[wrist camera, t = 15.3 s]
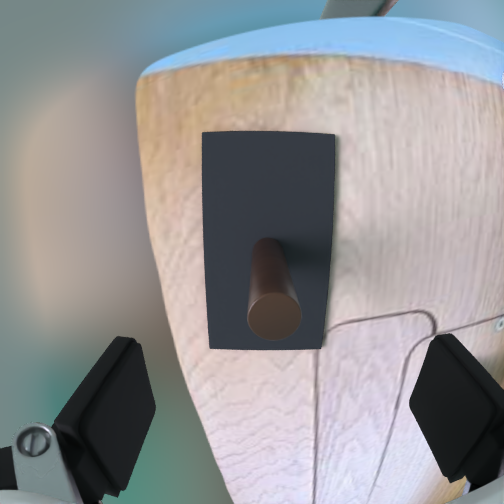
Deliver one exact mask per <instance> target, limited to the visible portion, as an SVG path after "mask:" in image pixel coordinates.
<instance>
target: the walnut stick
mask: <svg viewBox="0 0 504 504" xmlns="http://www.w3.org/2000/svg"><path fill="white" fill-rule="evenodd" d="M301 319H302V312H301V308H300V305H299V301H298V298H297V295H296V291H295V288H294V285H293V281H292V278H291V275H290V271H289V268H288V265H287V261H286V258H285V255H284V252H283V249H282V246H281V244H280V243H279V242H278V241H277V240H275V239H273V238H263V239H260V240H259V241H257V242H256V243H255V245H254V247H253V250H252V262H251V275H250V288H249V300H248V313H247V320H248V324H249V327H250V328H251V330H252V331H253V332H254V333H255V334H256V335H257V336H259V337H261V338H263V339H266V340H272V341H275V340H282V339H285V338H287V337H289V336H290V335H292V334H293V333H294V332H295V331H296V330H297V329H298V327H299V325H300V323H301Z"/></svg>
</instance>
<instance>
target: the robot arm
mask: <svg viewBox="0 0 504 504" xmlns="http://www.w3.org/2000/svg"><path fill="white" fill-rule="evenodd" d="M409 406H410V409H411V411H412V413H413V415H414V417H415V419H416V421H417V423H418V425H419V427H420V429H421V431H422V433H423V435H424V437H425V439H426V441H427V443H428V445H429V447H430V449H431V451H432V453H433V455H434V457H435V459H436V461H437V464H438V466H439V468H440V470H441V472H442V474H443V476H445V477H447V478H448V480H449V482H450V483H452V482H455V481H457V480H459V479H462V478H463V477H464V476H466V478H467V481H466V484H465V488H464V491H463V494H462V496H461V497H459V498H457V499H454V500H452V501H450V502H447V503H445V504H504V390H503V389H502V388H501V387H500V385H499V384H498V383H497V382H496V381H495V380H494V378H493V377H492V376H491V375H490V374H489V373H488V372H487V371H486V369H485V368H484V367H483V366H482V365H481V364H480V363H479V362H478V361H477V359H476V358H475V357H474V356H473V355H472V354H471V353H470V352H469V351H468V350H467V349H466V348H465V347H464V346H463V344H462V343H461V342H460V341H459V340H458V339H457V338H456V337H455V336H454V335H453V334H450V333H449V334H442V335H437V336H435V338H434V339H433V340H432V341H431V342H430V344H429V347H428V350H427V354H426V357H425V360H424V362H423V365H422V368H421V371H420V374H419V377H418V379H417V382H416V384H415V387H414V390H413V392H412V395H411V397H410V400H409ZM155 410H156V405H155V400H154V397H153V393H152V389H151V385H150V381H149V377H148V373H147V369H146V365H145V360H144V356H143V351H142V347H141V344H139V343H137V342H136V340H135V339H134V338H129V337H120V336H117V337H116V338H115V339H114V340H113V341H112V343H111V344H110V345H109V346H108V348H107V349H106V350H105V352H104V353H103V354H102V356H101V357H100V358H99V360H98V361H97V363H96V364H95V365H94V366H93V368H92V369H91V370H90V372H89V373H88V375H87V376H86V377H85V378H84V380H83V381H82V382H81V384H80V385H79V387H78V388H77V389H76V391H75V392H74V394H73V395H72V396H71V398H70V399H69V401H68V402H67V403H66V405H65V406H64V408H63V409H62V410H61V412H60V413H59V415H58V416H57V418H56V419H55V420H54V424H53V425H52V427H50V426H48V425H46V424H44V423H38V422H34V423H29V424H26V425H23V426H22V427H20V428H19V429H18V430H17V431H16V432H15V434H14V436H13V438H12V446H9V447H5V448H1V449H0V504H103V503H102V501H101V500H102V498H103V496H104V494H108V495H111V496H115V497H118V496H119V493H120V491H121V490H122V491H124V490H125V489H126V487H127V485H128V483H129V480H130V477H131V474H132V472H133V469H134V466H135V463H136V461H137V458H138V456H139V453H140V450H141V448H142V445H143V443H144V440H145V437H146V435H147V432H148V430H149V427H150V425H151V422H152V419H153V417H154V414H155Z"/></svg>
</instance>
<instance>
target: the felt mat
mask: <svg viewBox="0 0 504 504" xmlns="http://www.w3.org/2000/svg"><path fill="white" fill-rule="evenodd" d="M334 181H335V135H334V134H323V133H306V132H280V131H225V132H202V206H203V241H204V266H205V286H206V303H207V319H208V334H209V347H210V349H232V350H305V349H321V347H322V339H323V332H324V323H325V314H326V305H327V295H328V285H329V273H330V261H331V247H332V231H333V211H334ZM263 238H273V239H275V240H277V241H278V242H279V243H280V244H281V246H282V249H283V252H284V255H285V258H286V261H287V265H288V268H289V271H290V275H291V278H292V281H293V285H294V288H295V291H296V295H297V298H298V301H299V305H300V308H301V312H302V319H301V323H300V325H299V327H298V329H297V330H296V331H295V332H294V333H293V334H292V335H290V336H289V337H287V338H285V339H282V340H275V341H272V340H266V339H263V338H261V337H259V336H257V335H256V334H255V333H254V332H253V331H252V330H251V328H250V327H249V324H248V320H247V313H248V300H249V288H250V275H251V262H252V250H253V247H254V245H255V243H256V242H257V241H259V240H260V239H263Z"/></svg>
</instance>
